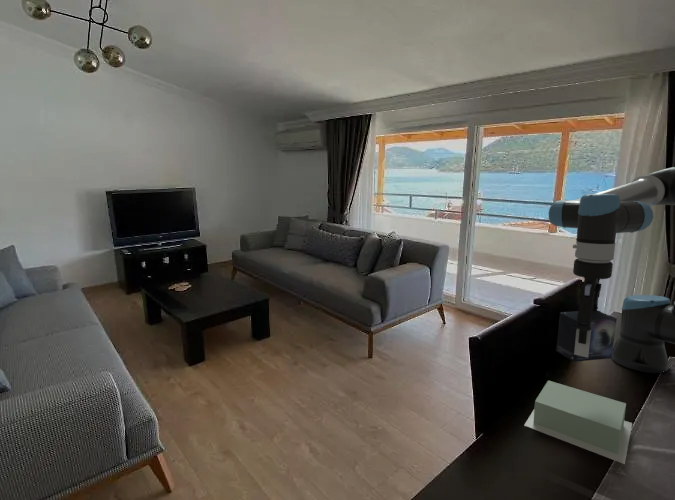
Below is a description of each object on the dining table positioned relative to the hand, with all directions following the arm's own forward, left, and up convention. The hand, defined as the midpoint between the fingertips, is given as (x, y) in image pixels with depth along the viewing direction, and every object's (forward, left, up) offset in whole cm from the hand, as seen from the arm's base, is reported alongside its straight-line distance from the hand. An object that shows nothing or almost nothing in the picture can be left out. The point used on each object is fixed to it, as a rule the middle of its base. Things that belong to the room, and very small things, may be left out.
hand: (584, 346), depth 89 cm
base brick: (+1, +1, -20) cm, 20 cm away
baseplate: (+1, +1, -21) cm, 21 cm away
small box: (0, 0, -2) cm, 2 cm away
